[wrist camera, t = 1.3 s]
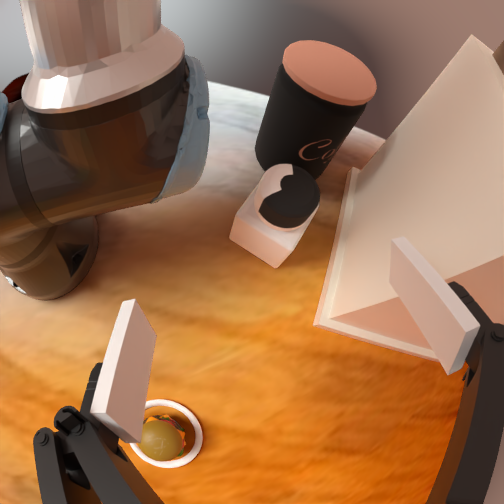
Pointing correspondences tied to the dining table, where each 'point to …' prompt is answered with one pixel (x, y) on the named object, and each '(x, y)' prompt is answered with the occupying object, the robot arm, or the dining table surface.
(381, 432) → the dining table surface
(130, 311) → the robot arm
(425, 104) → the plinth
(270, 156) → the coffee jar
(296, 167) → the medicine bottle
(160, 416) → the hamburger
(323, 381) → the dining table surface
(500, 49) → the walnut bar
